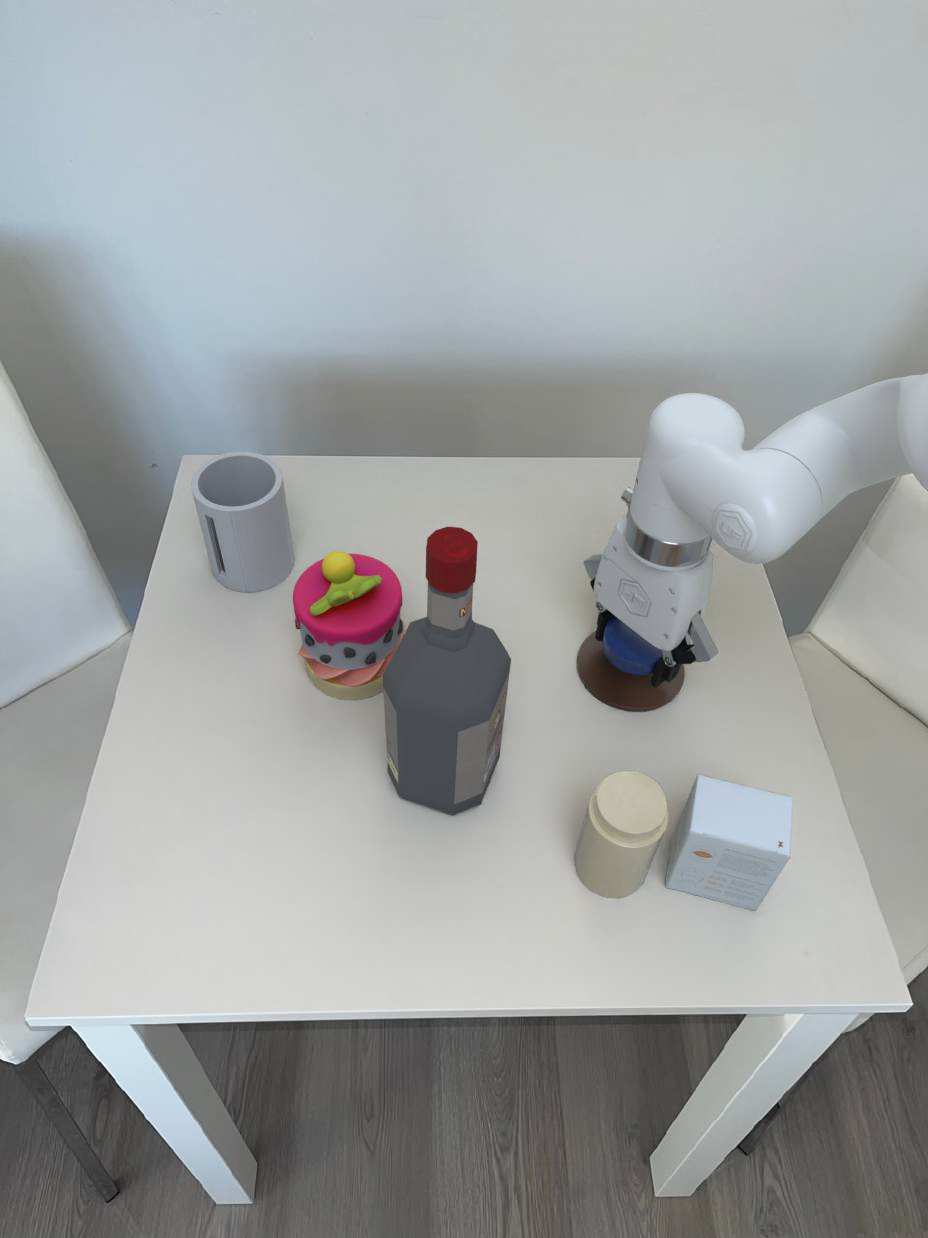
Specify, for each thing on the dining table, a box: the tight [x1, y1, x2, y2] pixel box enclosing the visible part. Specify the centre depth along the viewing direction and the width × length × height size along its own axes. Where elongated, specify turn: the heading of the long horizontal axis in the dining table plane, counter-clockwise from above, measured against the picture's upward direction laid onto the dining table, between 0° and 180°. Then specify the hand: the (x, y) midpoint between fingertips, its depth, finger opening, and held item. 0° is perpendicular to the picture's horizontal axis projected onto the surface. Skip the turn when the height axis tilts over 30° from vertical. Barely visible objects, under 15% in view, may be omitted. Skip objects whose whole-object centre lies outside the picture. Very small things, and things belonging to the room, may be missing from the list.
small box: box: [664, 774, 794, 911], centre depth 78 cm, size 8×6×10 cm
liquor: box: [383, 526, 512, 816], centre depth 76 cm, size 9×9×30 cm
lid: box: [602, 616, 663, 675], centre depth 93 cm, size 7×7×2 cm
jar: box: [573, 770, 669, 899], centre depth 78 cm, size 6×6×11 cm
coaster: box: [576, 630, 686, 713], centre depth 96 cm, size 11×11×1 cm
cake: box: [292, 550, 405, 701], centre depth 90 cm, size 10×11×15 cm
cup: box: [190, 450, 296, 593], centre depth 100 cm, size 9×9×12 cm
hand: (634, 655), depth 95 cm, fingers closed on lid, 6 cm apart
